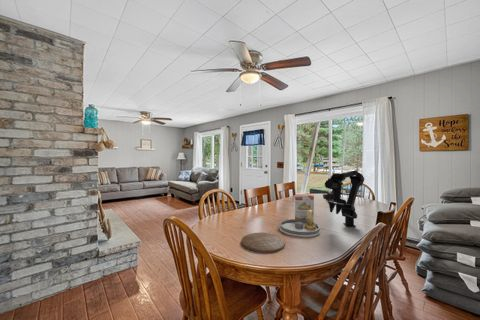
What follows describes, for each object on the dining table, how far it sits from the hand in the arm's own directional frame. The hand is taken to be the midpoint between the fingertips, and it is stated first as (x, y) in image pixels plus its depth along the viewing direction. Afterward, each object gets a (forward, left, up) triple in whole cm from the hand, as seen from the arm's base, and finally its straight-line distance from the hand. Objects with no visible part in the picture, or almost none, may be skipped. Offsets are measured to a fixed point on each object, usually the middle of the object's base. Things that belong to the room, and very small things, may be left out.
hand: (333, 213), depth 139 cm
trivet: (+25, -49, -12) cm, 56 cm away
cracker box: (-19, -16, -12) cm, 27 cm away
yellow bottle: (0, -16, -11) cm, 19 cm away
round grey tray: (0, -23, -12) cm, 26 cm away
